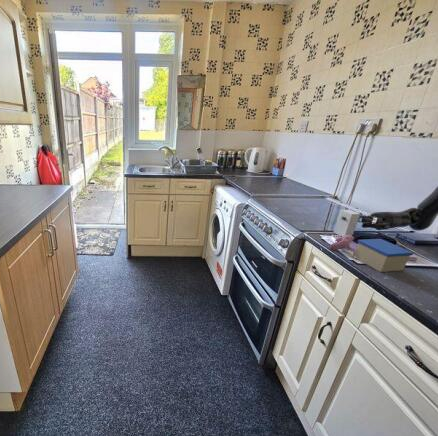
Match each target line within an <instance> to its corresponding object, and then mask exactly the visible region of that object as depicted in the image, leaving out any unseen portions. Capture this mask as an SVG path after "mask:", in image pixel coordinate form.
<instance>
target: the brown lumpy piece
mask: <svg viewBox="0 0 438 436" xmlns="http://www.w3.org/2000/svg"><path fill="white" fill-rule="evenodd" d="M355 239H356V238H355V237H354V235H353V236H351V235H350V234H349V235H346V236H344V237H341V236H339V237H337V238H336V239H334V243H331V244H329V249H330V250H334V251H338V250H340V249H342V250H343V249H346V248H347V249H348V248H350V247H351V243H352V242H354V240H355ZM335 241H337V243H336V242H335Z"/></svg>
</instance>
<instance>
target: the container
mask: <svg viewBox="0 0 438 436" xmlns="http://www.w3.org/2000/svg"><path fill="white" fill-rule="evenodd" d="M413 255H414V252H412V251H410V250H407V249H405V248H403V247H401V246H398V245H396V244H394V243H392V242H389V241H387V240H384V239H382V238H370V239H367V238H366V239H358V240H357V247H356V249H355V251H354V254H353V256H355V257H356V258H358V259H359V260H358V259H357V260H358V261H360V262H361V261H362V262H361V263H362V264H365V265H367V266H368V267H371V268H372V269H374V270H376V271H378V272H380V273H386V272H399V271H400V272H401V271H404V269H405V268H406V265H407V263H408V261H409V259H410V257H411V256H413ZM356 258H355V259H356Z"/></svg>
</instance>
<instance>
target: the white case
mask: <svg viewBox="0 0 438 436" xmlns="http://www.w3.org/2000/svg"><path fill="white" fill-rule="evenodd" d="M359 213H360V212H357V211H354V210H350V209H340V211H339V214H338V218H337V221H336V222H335V227H334V228H333V229H334V230H333V233H334V234H336V235H337V236H339V237H341V236H342V237H344V236H346V235H349V234H350V235H352V234H353V235H354V233H355V230H356V227H357V225H358V223H359V222H358V219H359V216H360V214H359Z"/></svg>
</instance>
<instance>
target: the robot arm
mask: <svg viewBox="0 0 438 436" xmlns="http://www.w3.org/2000/svg"><path fill="white" fill-rule="evenodd" d="M358 213H359V214H360V216H359V219H358V222H357V223H360V224H361V223H362V224H361V228H363V229H364V228H365V229H375V230H376V231H383V230H389V229H395V228H396V229H397V228H407V227H409V228H410V229H411V230H413V231H417V232H418V231H424V230H427V229H428V228H430V227H431V226H432V225H433V224H434V222H435V220H436V218H437V217H438V185H437V186H436V188H434V189H433V191H432V192H431V193H430V194H429V195H428V196H426V197H425V198H424V199H423V200H422V201H421V202H420V203H418V205H417V206H416V207H409V208H407V209H405V210H402V211H375V212H372V213H371V214H363V213H362V212H358Z"/></svg>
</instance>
